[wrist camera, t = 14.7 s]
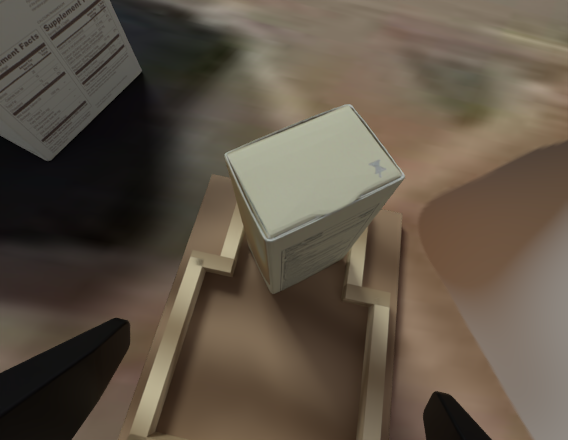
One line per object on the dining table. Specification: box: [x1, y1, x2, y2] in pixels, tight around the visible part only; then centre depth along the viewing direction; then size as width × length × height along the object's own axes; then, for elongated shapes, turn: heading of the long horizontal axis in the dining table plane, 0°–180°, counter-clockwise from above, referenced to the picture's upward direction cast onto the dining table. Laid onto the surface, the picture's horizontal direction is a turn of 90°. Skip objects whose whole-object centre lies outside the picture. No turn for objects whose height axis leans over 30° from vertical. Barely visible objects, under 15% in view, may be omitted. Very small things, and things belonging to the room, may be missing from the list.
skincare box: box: [225, 104, 405, 294], centre depth 18 cm, size 6×4×12 cm
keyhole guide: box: [118, 174, 402, 440], centre depth 21 cm, size 19×16×3 cm
